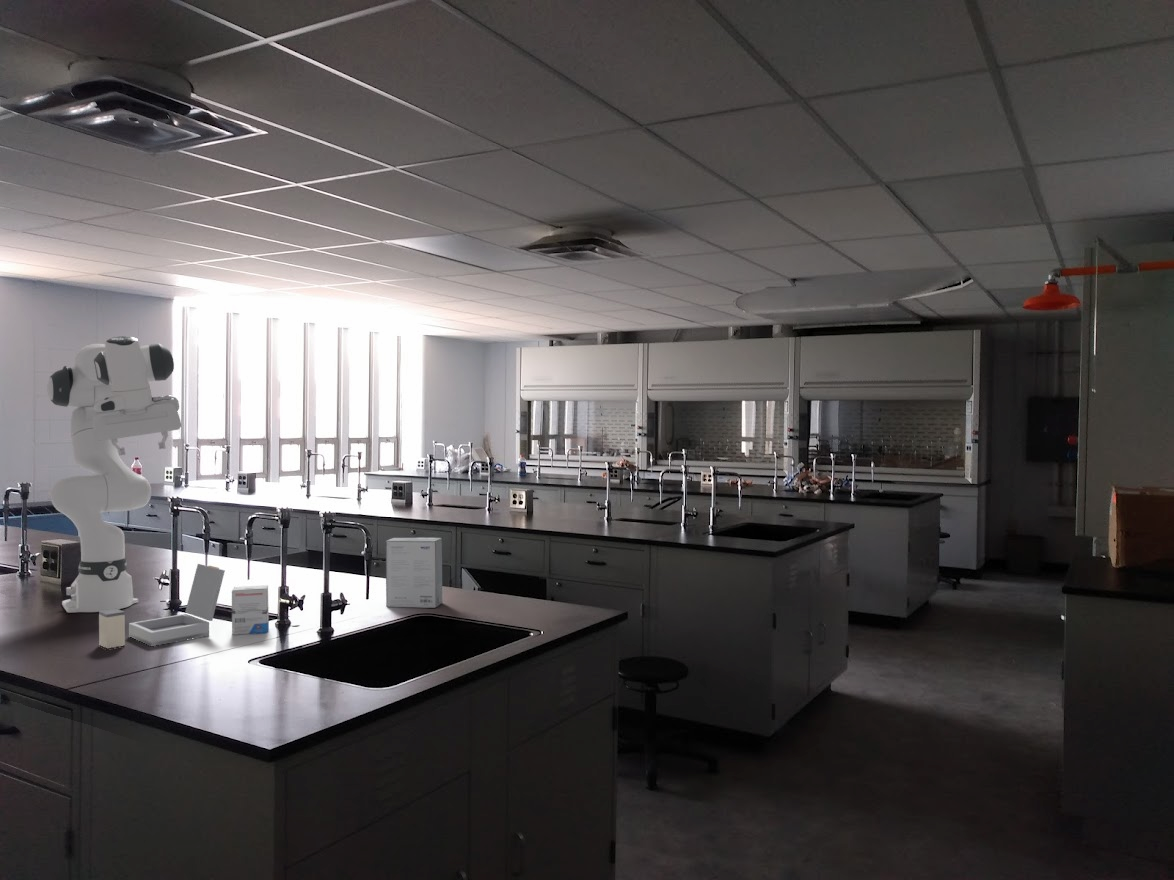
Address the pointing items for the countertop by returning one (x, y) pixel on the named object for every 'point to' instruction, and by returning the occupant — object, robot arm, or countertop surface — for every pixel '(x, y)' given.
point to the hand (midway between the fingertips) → (142, 451)
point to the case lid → (205, 591)
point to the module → (111, 628)
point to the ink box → (250, 610)
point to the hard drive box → (414, 572)
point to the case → (168, 629)
